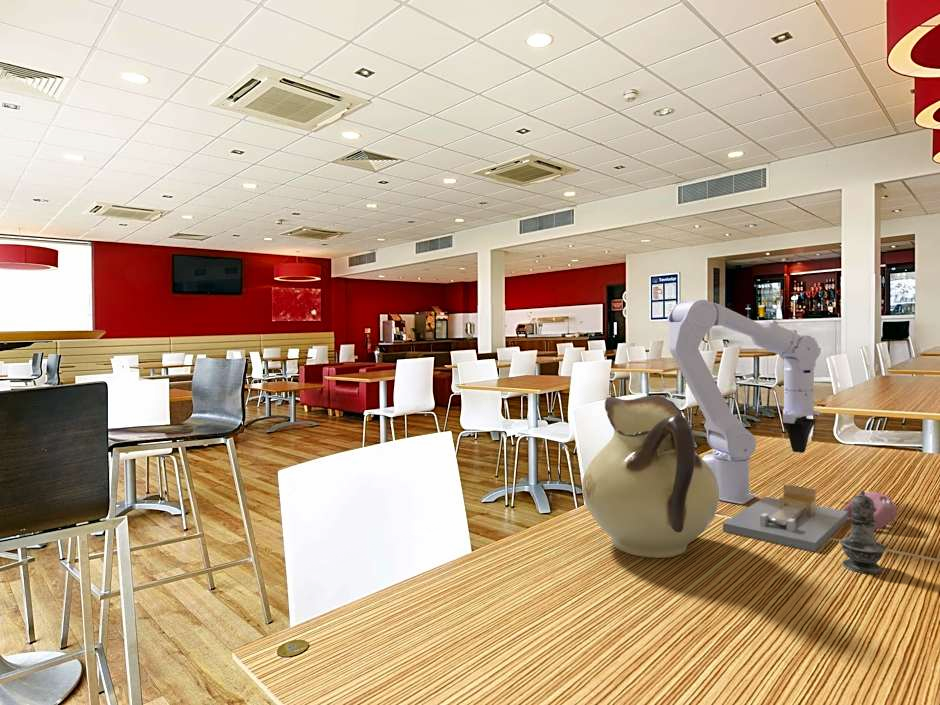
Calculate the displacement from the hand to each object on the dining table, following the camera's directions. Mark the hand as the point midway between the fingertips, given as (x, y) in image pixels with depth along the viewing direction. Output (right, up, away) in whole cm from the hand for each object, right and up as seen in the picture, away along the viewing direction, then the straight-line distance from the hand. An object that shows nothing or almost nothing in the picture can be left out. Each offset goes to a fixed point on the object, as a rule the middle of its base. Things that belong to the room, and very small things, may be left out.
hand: (798, 451), depth 130 cm
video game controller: (+3, -11, -19) cm, 22 cm away
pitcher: (-41, -12, -28) cm, 51 cm away
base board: (-12, -11, -19) cm, 25 cm away
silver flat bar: (-13, -9, -20) cm, 26 cm away
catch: (-9, -9, -16) cm, 21 cm away
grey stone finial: (-12, -12, -38) cm, 42 cm away
